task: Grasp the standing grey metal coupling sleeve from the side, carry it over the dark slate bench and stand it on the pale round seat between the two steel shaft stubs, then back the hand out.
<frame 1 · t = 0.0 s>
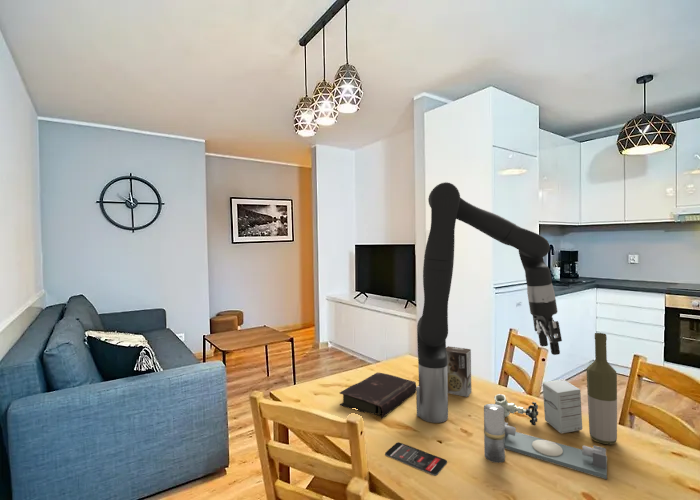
hand: (549, 350, 112), 22 cm above the table, tool pointing down, fingers open, 8 cm apart
coupling sleeve: (494, 457, 95), on the table
bottle: (603, 440, 101), on the table
valve: (516, 416, 115), point 1 cm above the table
smartphone: (415, 460, 95), on the table
coffee box: (457, 392, 136), on the table
diary: (378, 400, 132), on the table
shaft bench: (547, 452, 96), on the table
supplement box: (563, 426, 109), on the table
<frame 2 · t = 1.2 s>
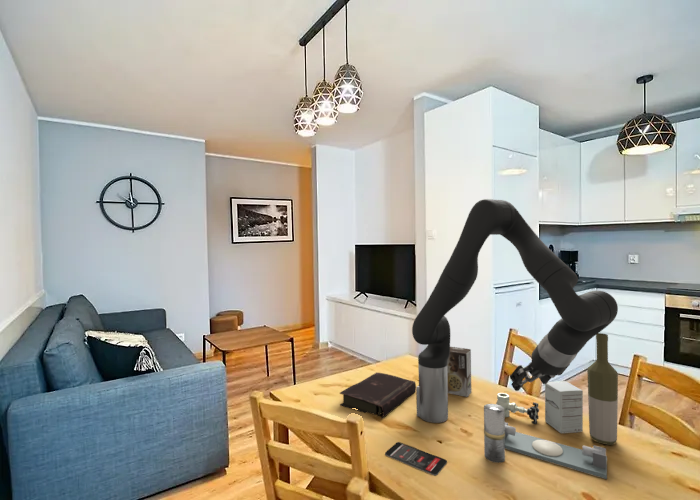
hand: (528, 384, 97), 18 cm above the table, tool tilted 40°, fingers open, 8 cm apart
valve: (516, 419, 115), on the table
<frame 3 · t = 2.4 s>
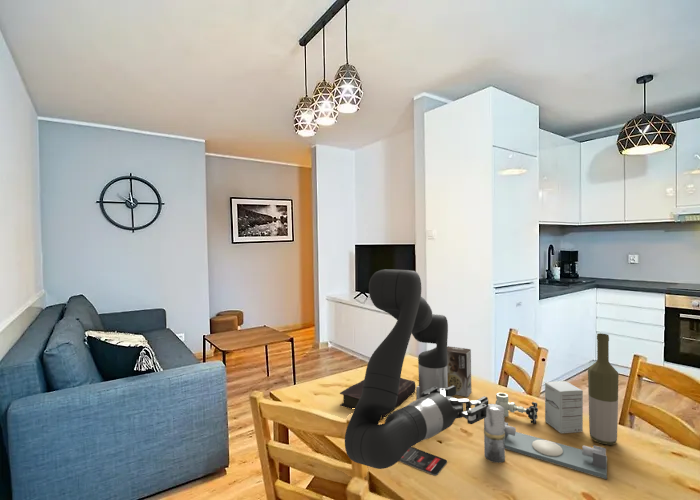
hand: (470, 395, 87), 20 cm above the table, tool horizontal, fingers open, 8 cm apart
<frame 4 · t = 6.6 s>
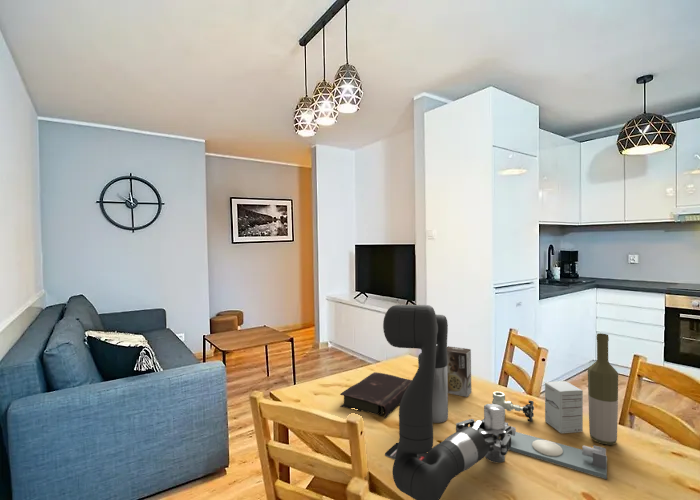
hand: (499, 425, 96), 8 cm above the table, tool horizontal, fingers closed on coupling sleeve, 5 cm apart
coupling sleeve: (494, 457, 95), on the table, touching gripper
valve: (511, 417, 116), on the table
everything else where it was.
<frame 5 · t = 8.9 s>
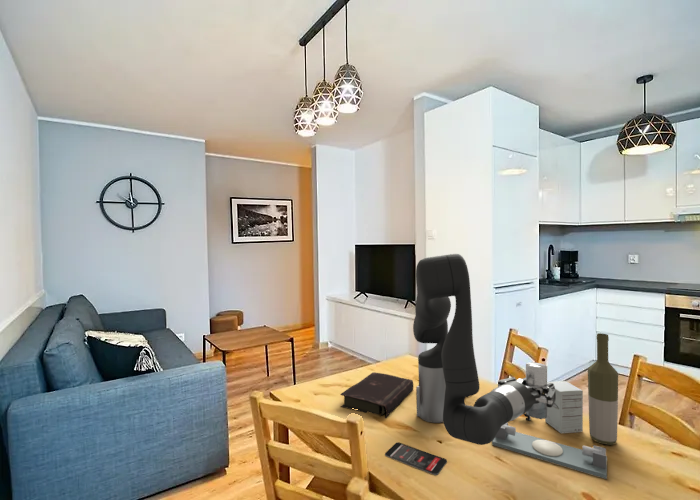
hand: (540, 383, 97), 18 cm above the table, tool horizontal, fingers closed on coupling sleeve, 5 cm apart
coupling sleeve: (536, 414, 95), point 11 cm above the table, touching gripper
when the fingers open (10 cm above the table, at t = 11.2 s): coupling sleeve stays where it is, resting on shaft bench.
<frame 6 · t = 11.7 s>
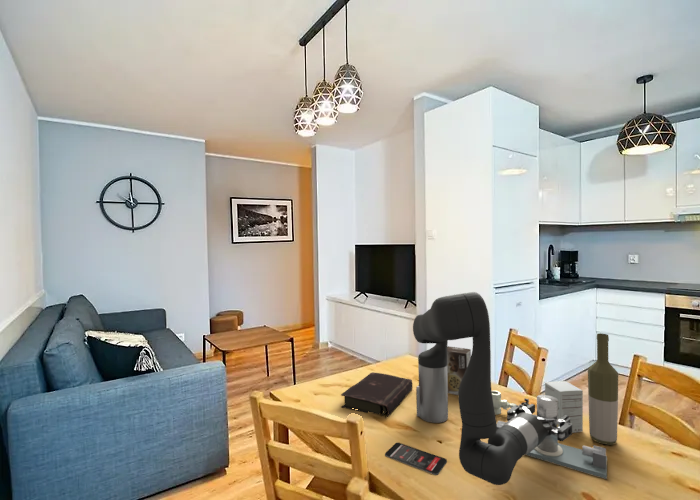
hand: (549, 412, 97), 10 cm above the table, tool horizontal, fingers open, 8 cm apart
coupling sleeve: (547, 447, 96), point 1 cm above the table, touching shaft bench
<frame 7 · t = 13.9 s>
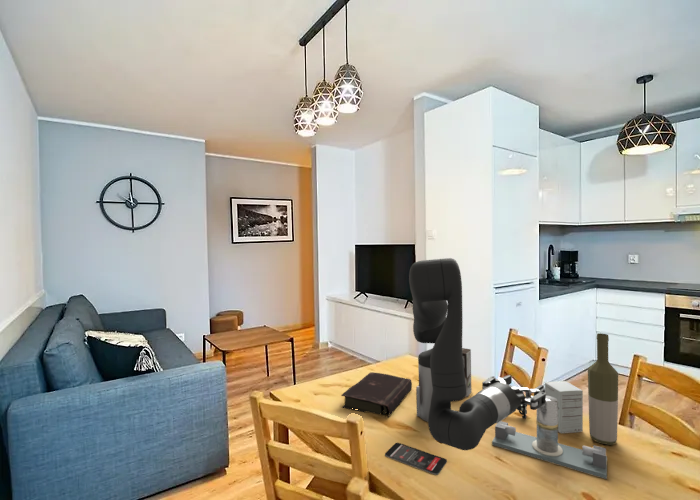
hand: (525, 383, 97), 18 cm above the table, tool horizontal, fingers open, 8 cm apart
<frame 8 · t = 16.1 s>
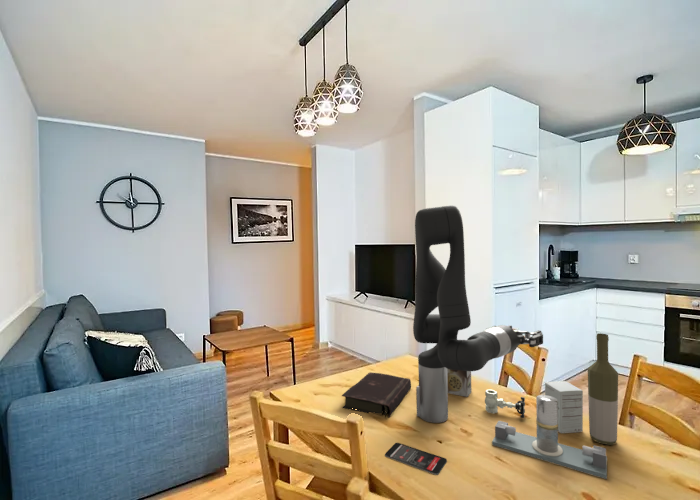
hand: (525, 331, 106), 30 cm above the table, tool horizontal, fingers open, 8 cm apart
at the end: coupling sleeve inside the target area on the shaft bench (0.1 cm from its centre), point 1.4 cm above the shaft bench's base; coupling sleeve tilted 0°; the gripper is holding nothing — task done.
